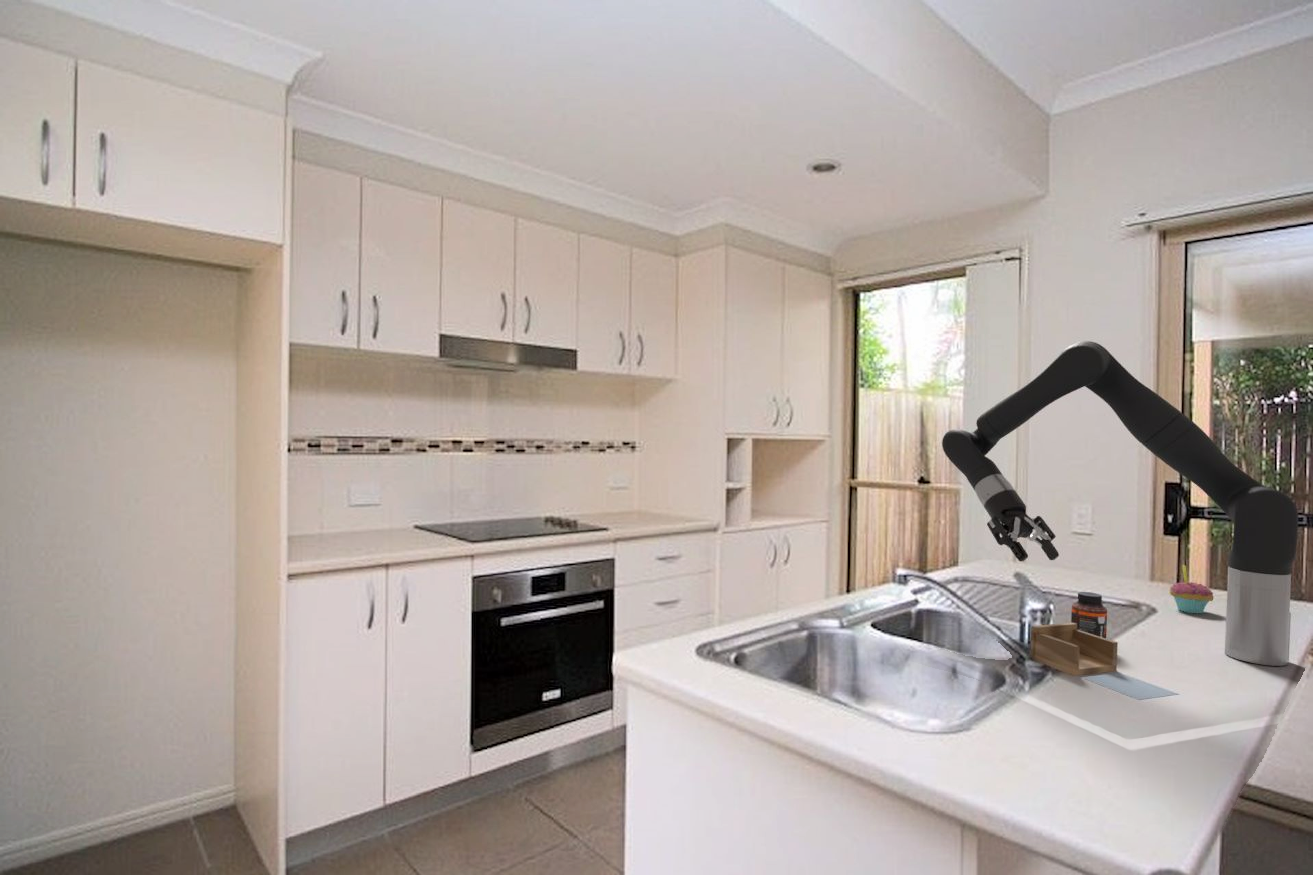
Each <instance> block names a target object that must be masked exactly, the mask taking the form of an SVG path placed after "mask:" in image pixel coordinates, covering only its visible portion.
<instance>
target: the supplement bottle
mask: <svg viewBox="0 0 1313 875" xmlns="http://www.w3.org/2000/svg"><path fill="white" fill-rule="evenodd" d="M1102 598H1103V597H1102V594H1100V593H1096V592H1092V591H1091V592H1090V591H1079V592H1077V601H1076V602H1074V603H1072V604H1071V616H1070V617H1071V619H1070V623H1076V624H1077V629H1078V630H1081V631H1084V632H1087V633H1090V634H1093V635H1096V636H1099V637H1103V638H1106V639H1107V626H1108V609H1107V608H1106V606H1104V605H1103V603H1102V602H1103V599H1102Z"/></svg>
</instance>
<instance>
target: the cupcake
mask: <svg viewBox="0 0 1313 875" xmlns="http://www.w3.org/2000/svg"><path fill="white" fill-rule="evenodd" d="M1181 567H1182V574H1183V575H1182V576H1183V582H1177V583H1174V584H1173V585H1172V586H1170V588H1169V595H1170V596H1172V597H1173V598H1174V600H1175V602H1176V607H1177V609H1178V610H1179V611H1180V610H1181V611H1180V612H1182V611H1184V612H1183V613H1187V614H1193V613H1197V614H1198V613H1202V614H1203V613H1204V610H1205V609H1206V606H1207V604H1208V603H1209V602H1212V601H1213V600H1214V595H1213V594H1214V593H1213V592H1212V590H1211V589H1209V588H1208V587H1207V586H1205V585H1204V584H1202V583H1197V582H1189V581H1188V574H1187V573H1188V572H1187V567H1186V565H1185V564H1184V561H1182V566H1181ZM1197 614H1196V615H1197ZM1198 615H1199V614H1198Z"/></svg>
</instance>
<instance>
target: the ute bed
mask: <svg viewBox="0 0 1313 875" xmlns="http://www.w3.org/2000/svg"><path fill="white" fill-rule="evenodd" d="M1030 634H1031V636H1030V658H1032V659H1033V660H1032V659H1031V660H1032V661H1036V662H1037V663H1040V664H1043V665H1045V666H1048V667H1050V668H1052V669H1055V670H1058V671H1060V672H1063V673H1066V674H1068V675H1071V676H1073V677H1075V676H1076V677H1077V676H1085V675H1095V674H1101V673H1102V674H1103V673H1108V672H1109V673H1110V672H1117V670H1118V669H1117V667H1118V661H1117V660H1118V647H1119V646H1118V645H1119V642H1117V641H1115V640H1112V639H1108V638H1107V637H1106V638H1103V637H1099V636H1096V635H1093V634H1090V633H1087V632H1084V631H1081V630H1078V629H1077V624H1076V623H1071V622H1063V623H1050V624H1041V625H1031V632H1030Z"/></svg>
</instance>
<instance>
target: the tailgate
mask: <svg viewBox="0 0 1313 875" xmlns="http://www.w3.org/2000/svg"><path fill="white" fill-rule="evenodd" d="M1080 678H1082V679H1084V680H1086V681H1089V682H1091V683H1095V684H1097V685H1099V686H1102V687H1105V688H1107V689H1110V690H1112V691H1115V692H1117V693H1120V694H1123V695H1124V696H1125V695H1126V696H1127V697H1130V698H1133V699H1135V700H1138V701H1142V700H1148V699H1155V698H1162V697H1171V696H1176V695H1178V693H1177V692H1175V691H1172V690H1169V689H1166V688H1163V687H1160V686H1157V685H1155V684H1152V683H1150V682H1146V681H1144V680H1141V679H1138V678H1135V677H1133V676H1130V675H1127V674H1124V673H1122V672H1112V673H1105V674H1103V673H1102V674H1097V675H1095V674H1094V675H1090V676H1088V675H1087V676H1081V677H1080Z"/></svg>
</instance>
